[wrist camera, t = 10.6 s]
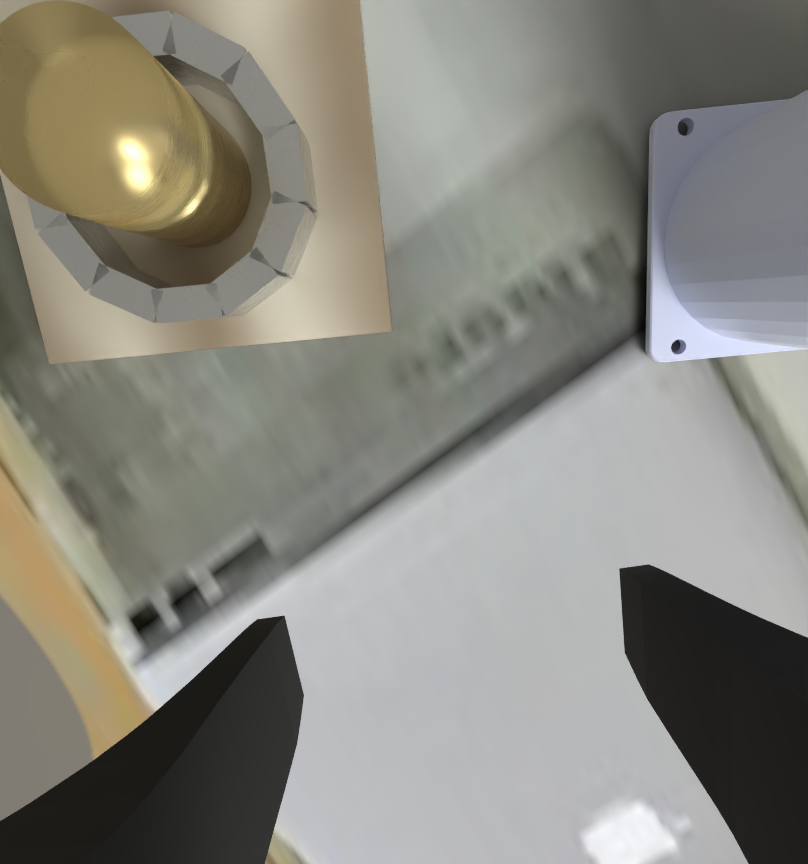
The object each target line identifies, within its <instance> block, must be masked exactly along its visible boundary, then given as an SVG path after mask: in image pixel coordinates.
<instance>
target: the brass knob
mask: <svg viewBox="0 0 808 864" xmlns="http://www.w3.org/2000/svg"><path fill="white" fill-rule="evenodd" d="M0 169H1V171H2V172H3V173H4V175H5V176H6V177H7V178H8V179H9V180H10V181H11V182H12V183H13V184H14V185H15V186H16V187H17V188H18V189H19V190H21V191H22V192H23V193H24V194H26V195H27V196H29V197H30V198H32V199H33V200H34V201H36V202H38V203H40V204H42V205H44V206H46V207H48V208H51V209H53V210H56V211H59V212H62V213H66V214H69V215H73V216H76V217H80V218H83V219H87V220H90V221H94V222H97V223H101V224H105V225H108V226H112V227H115V228H119V229H122V230H126V231H129V232H133V233H136V234H140V235H143V236H147V237H150V238H154V239H157V240H161V241H164V242H168V243H171V244H175V245H178V246H183V247H189V248H202V247H207V246H211V245H214V244H217V243H219V242H221V241H223V240H224V239H226V238H227V237H228V236H230V235H231V234H232V233H233V232H234V231H235V230H236V229H237V228H238V226H239V225H240V224H241V222H242V221H243V219H244V217H245V215H246V213H247V210H248V207H249V203H250V199H251V187H252V183H251V174H250V170H249V166H248V163H247V160H246V157H245V155H244V153H243V151H242V149H241V147H240V146H239V144H238V143H237V141H236V140H235V139H234V138H233V136H232V135H231V134H230V133H229V132H228V131H227V130H226V129H225V128H224V127H223V126H222V125H221V124H220V123H219V122H218V121H217V120H216V119H215V118H214V117H213V116H212V115H211V114H210V113H209V112H208V111H207V110H206V109H205V108H204V107H203V106H202V105H201V104H200V103H199V102H198V101H197V100H196V99H195V98H194V97H193V96H192V95H191V94H190V93H189V92H188V91H187V90H186V89H185V88H184V87H183V86H182V85H181V84H180V83H179V82H178V81H177V80H176V79H175V78H174V77H173V76H172V75H171V74H170V73H169V72H168V71H167V70H166V69H165V68H164V66H163V65H162V64H161V63H160V62H159V61H158V60H157V59H156V58H155V57H154V56H153V55H152V54H151V53H150V52H149V51H148V50H147V49H146V48H145V47H144V46H143V45H142V44H141V43H140V42H139V41H138V40H137V39H136V38H135V37H134V36H133V35H132V34H131V33H130V32H129V31H128V30H126V29H125V28H124V27H123V26H122V25H121V24H119V23H118V22H117V21H115V20H114V19H113V18H111V17H110V16H108V15H106V14H104V13H103V12H101V11H99V10H97V9H94V8H92V7H89V6H87V5H84V4H80V3H76V2H71V1H61V0H56V1H44V2H39V3H34V4H31V5H29V6H26V7H24V8H21V9H20V10H18V11H16V12H14V13H13V14H11V15H10V16H9V17H7V18H6V19H5V20H4V21H3V22H1V23H0Z"/></svg>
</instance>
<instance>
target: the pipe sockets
mask: <svg viewBox="0 0 808 864" xmlns="http://www.w3.org/2000/svg"><path fill="white" fill-rule="evenodd" d="M111 18H113V19H114V20H115V21H117V22H118V23H119V24H121V25H122V26H123V27H124V28H125V29H126V30H128V31H129V32H130V33H131V34H132V35H133V36H134V37H135V38H136V39H137V40H138V41H139V42H140V43H141V44H142V45H143V46H144V47H145V48H146V49H147V50H148V51H149V52H150V53H151V54H152V55H153V56H154V57H155V58H156V59H157V60H158V61H159V62H160V63H161V64H162V65H163V66H164V68H165V69H166V70H167V71H168V72H169V73H170V74H171V75H172V76H173V77H174V78H175V79H176V80H177V81H178V82H179V83H180V84H181V85H182V86H191V85H200V86H202V87H204V88H206V89H208V90H210V91H212V92H214V93H216V94H218V95H220V96H222V97H224V98H226V99H228V100H230V101H232V102H234V103H236V104H238V105H240V106H242V107H243V108H244V110H245V111H246V113H247V114H248V116H249V117H250V118H251V120H252V121H253V123H254V124H255V126H256V127H257V128H258V130H259V131H260V133H261V134H262V137H263V143H264V150H265V157H266V164H267V171H268V178H269V185H270V192H271V199H270V202H269V205H268V207H267V210H266V213H265V216H264V218H263V221H262V224H261V226H260V229H259V232H258V235H257V237H256V240H255V243H254V246H253V248H252V251H251V252H249V253H248V254H247V255H246V256H244V257H243V258H242V259H241V260H239V261H238V262H237V263H236V264H234V265H233V266H232V267H230V268H229V269H228V270H227V271H225V272H224V273H223V274H222V275H220V276H219V277H218V278H217V279H215V280H214V281H213V282H211V283H210V284H202V285H192V286H182V287H176V286H173V285H171V284H169V283H167V282H165V281H162V280H160V279H158V278H156V277H154V276H151V275H149V274H147V273H145V272H143V271H140V270H139V269H138V268H137V267H136V266H135V264H134V263H133V262H132V260H131V259H130V258H129V257H128V255H127V254H126V253H125V252H124V250H123V249H122V248H121V247H120V245H119V244H118V243H117V242H116V240H115V239H114V238H113V237H112V235H111V234H110V233H109V232H108V230H107V229H106V227H105V224H101V223H97V222H94V221H90V220H87V219H83V218H80V217H76V216H73V215H69V214H66V213H62V212H59V211H56V210H53V209H51V208H48V207H46V206H44V205H42V204H40V203H38V202H36V201H34V200H33V199H32V198H30V197H29V196H27V199H28V203H29V207H30V211H31V215H32V219H33V223H34V227H35V229H38V230H41V231H40V232H39V233H37V234H38V235H39V236H40V237H41V239H42V240H43V241H44V242H45V243H46V245H47V246H48V247H49V248H50V249H51V251H52V252H53V253H54V254H55V256H56V257H57V258H58V259H59V260H60V262H61V263H62V264H63V265H64V266H65V268H66V269H67V270H68V271H69V272H70V274H71V275H72V276H73V277H74V278H75V280H76V281H77V282H78V283H79V285H80V286H81V287H82V288H83V289H84V291H88V292H90V293H89V295H92V296H94V297H96V298H98V299H101V300H103V301H105V302H107V303H110V304H112V305H114V306H116V307H119V308H121V309H123V310H125V311H128V312H130V313H132V314H134V315H137V316H139V317H141V318H143V319H146V320H148V321H150V322H152V323H157V324H158V323H171V322H184V321H194V320H205V319H215V318H225V317H235V316H243V315H244V314H247V313H249V312H250V311H251V310H253V309H254V308H255V307H257V306H258V305H259V304H260V303H262V302H263V301H264V300H266V299H267V298H268V297H270V296H271V295H272V294H273V293H275V292H276V291H277V290H279V289H280V288H281V287H283V286H284V285H285V284H286V283H288V282H289V281H290V280H292V278H291V276H290V275H289V274H291V275H295V274H296V271H297V269H298V266H299V264H300V261H301V259H302V256H303V254H304V251H305V248H306V246H307V243H308V241H309V238H310V236H311V233H312V230H313V228H314V225H315V223H316V220H317V218H318V217H317V216H316V215H315V214H314V213H318V208H317V200H316V192H315V184H314V176H313V168H312V160H311V152H310V145H309V143H308V142H307V141H308V140H307V138H306V137H305V135H304V133H303V131H302V130H301V128H300V126H299V125H298V123H297V121H296V120H295V118H294V117H293V115H292V114H291V112H290V111H289V109H288V108H287V106H286V105H285V104H284V102H283V101H282V99H281V98H280V96H279V95H278V93H277V92H276V90H275V89H274V87H273V86H272V84H271V83H270V82H269V80H268V79H267V77H266V76H265V74H264V73H263V71H262V70H261V68H260V67H259V65H258V64H257V62H256V61H255V60H254V58H253V57H252V55H251V54H250V52H249V51H248V52H247V50H246V49H245V47H243V46H241V45H239V44H237V43H235V42H233V41H231V40H229V39H227V38H225V37H223V36H221V35H219V34H217V33H215V32H213V31H211V30H209V29H207V28H205V27H203V26H201V25H200V24H198V23H196V22H194V21H192V20H190V19H188V18H186V17H184V16H182V15H180V14H178V13H176V12H174V13H173V15H172V14H171V13H170V11H160V12H151V13H143V14H134V15H125V16H116V17H111Z"/></svg>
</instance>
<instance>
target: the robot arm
mask: <svg viewBox="0 0 808 864" xmlns="http://www.w3.org/2000/svg"><path fill="white" fill-rule="evenodd" d="M679 122H684V123H685V124H686V125H687V129H688V131H687V135H686V136H683V135H681V134H680V133H679V132H678V128H677V127H678V123H679ZM675 340H678V341H679V342H680V349H679V350H678V351H677V352H676V353H673V352H672V350H671V346H672V343H673V342H674V341H675ZM800 349H808V90H806V91H804V92H802V93H801V94H799V95H797V96H795V97H793V98H791V99H784V100H774V101H765V102H756V103H746V104H737V105H727V106H718V107H708V108H699V109H689V110H680V111H670V112H667V113H664V114H662V115H661V116H660V117H658V118H657V119H656V120H655V121H654V122H653V124H652V126H651V128H650V133H649V183H648V239H647V295H646V354H647V355H648V357H649V358H650V359H652V360H653V361H657V362H672V361H682V360H693V359H704V358H715V357H725V356H736V355H747V354H757V353H768V352H779V351H790V350H800ZM619 570H620V585H621V600H622V616H623V631H624V646H625V654H626V656H627V658H628V660H629V662H630V665H631V667H632V669H633V671H634V673H635V675H636V677H637V679H638V681H639V683H640V685H641V687H642V689H643V691H644V693H645V695H646V697H647V699H648V701H649V702H650V704H651V706H652V707H653V709H654V710H655V712H656V714H657V715H658V717H659V718H660V720H661V721H662V723H663V725H664V726H665V728H666V729H667V731H668V732H669V734H670V736H671V737H672V739H673V740H674V742H675V743H676V745H677V746H678V748H679V750H680V751H681V753H682V754H683V756H684V757H685V759H686V760H687V762H688V763H689V765H690V767H691V768H692V770H693V771H694V773H695V774H696V776H697V777H698V779H699V780H700V782H701V784H702V785H703V787H704V788H705V790H706V791H707V793H708V794H709V796H710V797H711V799H712V801H713V802H714V804H715V805H716V807H717V808H718V810H719V812H720V813H721V815H722V817H723V818H724V820H725V822H726V823H727V825H728V827H729V829H730V830H731V832H732V834H733V835H734V837H735V839H736V841H737V843H738V845H739V846H740V848H741V850H742V852H743V854H744V856H745V858H746V860H747V862H748V863H749V864H808V638H807V637H804V636H802V635H800V634H797V633H795V632H793V631H790V630H788V629H786V628H783V627H781V626H778V625H776V624H774V623H771V622H769V621H767V620H765V619H762V618H760V617H758V616H756V615H754V614H751V613H749V612H747V611H745V610H743V609H741V608H738V607H736V606H734V605H732V604H730V603H728V602H726V601H724V600H722V599H720V598H718V597H716V596H714V595H711V594H709V593H707V592H705V591H703V590H701V589H699V588H697V587H695V586H693V585H691V584H689V583H687V582H685V581H683V580H681V579H679V578H677V577H675V576H673V575H671V574H669V573H667V572H665V571H663V570H661V569H658V568H656V567H654V566H651V565H642V566H635V567H628V568H621V569H619ZM303 698H304V694H303V690H302V686H301V682H300V678H299V674H298V670H297V666H296V661H295V657H294V653H293V649H292V645H291V641H290V637H289V633H288V629H287V624H286V620H285V616H279V617H272V618H265V619H257V620H256V621H255V622H253V623H252V624H251V625H250V626H249V627H248V628H246V629H245V630H244V631H243V632H242V633H241V634H240V635H239V636H238V637H237V638H236V639H235V640H234V641H232V642H231V643H230V644H229V645H228V646H227V647H226V648H225V649H224V650H223V651H222V652H221V653H220V654H219V655H218V656H217V657H216V658H215V659H214V660H213V661H211V662H210V663H209V664H208V665H207V666H206V667H205V668H204V669H203V670H202V671H201V672H200V673H199V674H198V675H197V676H196V677H195V678H193V679H192V680H191V681H190V682H189V683H188V684H187V685H186V686H185V687H183V688H182V689H181V690H180V691H179V692H178V693H177V694H175V695H174V696H173V697H172V698H171V699H170V700H169V701H167V702H166V703H165V704H164V705H163V706H162V707H161V708H159V709H158V710H157V711H156V712H155V713H154V714H153V715H151V716H150V717H149V718H148V719H147V720H145V721H144V722H143V723H142V724H141V725H139V726H138V727H137V728H136V729H134V730H133V731H132V732H130V733H129V734H128V735H127V736H125V737H124V738H123V739H122V740H120V741H119V742H117V743H116V744H115V745H113V746H112V747H111V748H109V749H108V750H107V751H105V752H104V753H103V754H101V755H100V756H99V757H97V758H96V759H95V760H93V761H92V762H90V763H89V764H88V765H86V766H85V767H83V768H82V769H80V770H79V771H77V772H76V773H74V774H73V775H71V776H70V777H68V778H67V779H65V780H64V781H62V782H61V783H59V784H58V785H56V786H55V787H53V788H52V789H50V790H49V791H48V792H46V793H44V794H43V795H41V796H40V797H38V798H37V799H35V800H34V801H32V802H31V803H29V804H28V805H26V806H24V807H23V808H21V809H20V810H18V811H17V812H15V813H13V814H11V815H10V816H8V817H6V818H5V819H3V820H1V821H0V864H265V860H266V856H267V853H268V849H269V845H270V842H271V838H272V834H273V831H274V827H275V823H276V820H277V816H278V812H279V809H280V805H281V802H282V798H283V794H284V791H285V787H286V783H287V780H288V776H289V772H290V768H291V765H292V761H293V757H294V753H295V749H296V745H297V740H298V734H299V727H300V721H301V713H302V705H303Z"/></svg>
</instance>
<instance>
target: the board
mask: <svg viewBox="0 0 808 864" xmlns="http://www.w3.org/2000/svg"><path fill="white" fill-rule="evenodd" d="M44 1H56V0H0V23H1V22H3V21H4V20H5V19H6V18H7V17H9V16H10V15H11V14H13V13H14V12H16V11H18V10H20V9H21V8H24V7H26V6H29V5H31V4H34V3H39V2H44ZM61 1H71V2H76V3H80V4H84V5H87V6H89V7H92V8H94V9H97V10H99V11H101V12H103V13H104V14H106V15H108V16H110V17H116V16H125V15H134V14H143V13H151V12H160V11H170V13H171V14H172V15H173V13H174V12H176V13H178V14H180V15H182V16H184V17H186V18H188V19H190V20H192V21H194V22H196V23H198V24H200V25H201V26H203V27H205V28H207V29H209V30H211V31H213V32H215V33H217V34H219V35H221V36H223V37H225V38H227V39H229V40H231V41H233V42H235V43H237V44H239V45H241V46H243V47H245V49H246V50H247V52H248V51H249V52H250V54H251V55H252V57H253V58H254V60H255V61H256V62H257V64H258V65H259V67H260V68H261V70H262V71H263V73H264V74H265V76H266V77H267V79H268V80H269V82H270V83H271V84H272V86H273V87H274V89H275V90H276V92H277V93H278V95H279V96H280V98H281V99H282V101H283V102H284V104H285V105H286V106H287V108H288V109H289V111H290V112H291V114H292V115H293V117H294V118H295V120H296V121H297V123H298V125H299V126H300V128H301V130H302V131H303V133H304V135H305V137H306V138H307V140H308V141H307V142H308V143H309V145H310V152H311V160H312V168H313V176H314V184H315V192H316V200H317V208H318V213H314V214H315V215H316V216H317V217H318V218H317V220H316V223H315V225H314V228H313V230H312V233H311V236H310V238H309V241H308V243H307V246H306V248H305V251H304V254H303V256H302V259H301V261H300V264H299V266H298V269H297V271H296V274H295V275H291V274H289V275H290V276H291V278H292V280H290V281H289V282H288V283H286V284H285V285H284V286H283V287H281V288H280V289H279V290H277V291H276V292H275V293H273V294H272V295H271V296H270V297H268V298H267V299H266V300H264V301H263V302H262V303H260V304H259V305H258V306H257V307H255V308H254V309H253V310H251V311H250V312H249V313H247V314H244V315H243V316H235V317H225V318H215V319H205V320H194V321H184V322H171V323H158V324H157V323H152V322H150V321H148V320H146V319H143V318H141V317H139V316H137V315H134V314H132V313H130V312H128V311H125V310H123V309H121V308H119V307H116V306H114V305H112V304H110V303H107V302H105V301H103V300H101V299H98V298H96V297H94V296H92V295H89V293H90V292H88V291H84V289H83V288H82V287H81V286H80V285H79V283H78V282H77V281H76V280H75V278H74V277H73V276H72V275H71V274H70V272H69V271H68V270H67V269H66V268H65V266H64V265H63V264H62V263H61V262H60V260H59V259H58V258H57V257H56V256H55V254H54V253H53V252H52V251H51V249H50V248H49V247H48V246H47V245H46V243H45V242H44V241H43V240H42V239H41V237H40V236H39V235H38V234H37V233H39V232H40V231H41V230H38V229H35V227H34V223H33V219H32V215H31V211H30V207H29V203H28V199H27V195H26V194H24V193H23V192H22V191H21V190H19V189H18V188H17V187H16V186H15V185H14V184H13V183H12V182H11V181H10V180H9V179H8V178H7V177H6V176H5V175H4V173H3V172H2V171H1V169H0V176H1V180H2V184H3V188H4V191H5V195H6V199H7V203H8V207H9V211H10V215H11V219H12V222H13V226H14V230H15V234H16V238H17V242H18V246H19V249H20V253H21V257H22V261H23V265H24V269H25V273H26V276H27V280H28V284H29V288H30V292H31V296H32V300H33V303H34V307H35V311H36V315H37V319H38V323H39V327H40V330H41V334H42V338H43V342H44V346H45V350H46V354H47V357H48V361H49V364H58V363H69V362H79V361H90V360H100V359H110V358H121V357H131V356H142V355H152V354H163V353H173V352H183V351H194V350H204V349H215V348H225V347H235V346H246V345H256V344H267V343H277V342H287V341H298V340H308V339H319V338H329V337H340V336H350V335H360V334H371V333H381V332H392V321H391V311H390V301H389V291H388V281H387V270H386V260H385V250H384V240H383V230H382V219H381V209H380V199H379V189H378V179H377V169H376V158H375V148H374V138H373V128H372V118H371V107H370V97H369V87H368V77H367V67H366V56H365V46H364V36H363V26H362V16H361V5H360V0H61ZM183 87H184V88H185V89H186V90H187V91H188V92H189V93H190V94H191V95H192V96H193V97H194V98H195V99H196V100H197V101H198V102H199V103H200V104H201V105H202V106H203V107H204V108H205V109H206V110H207V111H208V112H209V113H210V114H211V115H212V116H213V117H214V118H215V119H216V120H217V121H218V122H219V123H220V124H221V125H222V126H223V127H224V128H225V129H226V130H227V131H228V132H229V133H230V134H231V135H232V136H233V138H234V139H235V140H236V141H237V143H238V144H239V146H240V147H241V149H242V151H243V153H244V155H245V157H246V160H247V163H248V166H249V170H250V174H251V183H252V187H251V199H250V203H249V207H248V210H247V213H246V215H245V217H244V219H243V221H242V222H241V224H240V225H239V226H238V228H237V229H236V230H235V231H234V232H233V233H232V234H231V235H230V236H228V237H227V238H226V239H224V240H223V241H221V242H219V243H217V244H214V245H211V246H207V247H202V248H189V247H183V246H178V245H175V244H171V243H168V242H164V241H161V240H157V239H154V238H150V237H147V236H143V235H140V234H136V233H133V232H129V231H126V230H122V229H119V228H115V227H112V226H108V225H105V227H106V229H107V230H108V232H109V233H110V234H111V235H112V237H113V238H114V239H115V240H116V242H117V243H118V244H119V245H120V247H121V248H122V249H123V250H124V252H125V253H126V254H127V255H128V257H129V258H130V259H131V260H132V262H133V263H134V264H135V266H136V267H137V268H138V269H139V270H140V271H143V272H145V273H147V274H149V275H151V276H154V277H156V278H158V279H160V280H162V281H165V282H167V283H169V284H171V285H173V286H176V287H182V286H192V285H202V284H210V283H211V282H213V281H214V280H215V279H217V278H218V277H219V276H220V275H222V274H223V273H224V272H225V271H227V270H228V269H229V268H230V267H232V266H233V265H234V264H236V263H237V262H238V261H239V260H241V259H242V258H243V257H244V256H246V255H247V254H248V253H249V252H251V251H252V248H253V246H254V243H255V240H256V237H257V235H258V232H259V229H260V226H261V224H262V221H263V218H264V216H265V213H266V210H267V207H268V205H269V202H270V199H271V192H270V185H269V178H268V171H267V164H266V157H265V150H264V143H263V137H262V134H261V133H260V131H259V130H258V128H257V127H256V126H255V124H254V123H253V121H252V120H251V118H250V117H249V116H248V114H247V113H246V111H245V110H244V108H243V107H242V106H240V105H238V104H236V103H234V102H232V101H230V100H228V99H226V98H224V97H222V96H220V95H218V94H216V93H214V92H212V91H210V90H208V89H206V88H204V87H202V86H200V85H191V86H183Z"/></svg>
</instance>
